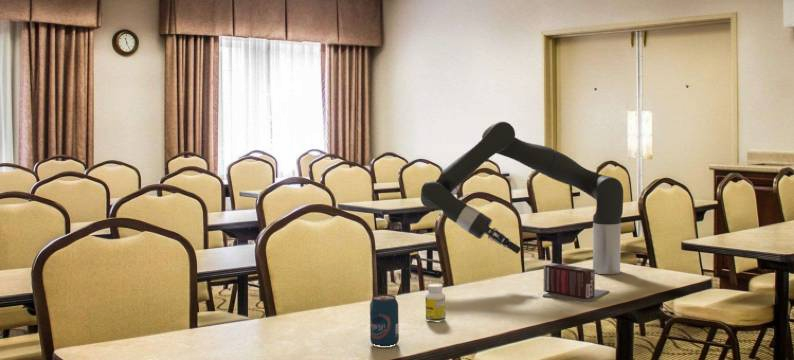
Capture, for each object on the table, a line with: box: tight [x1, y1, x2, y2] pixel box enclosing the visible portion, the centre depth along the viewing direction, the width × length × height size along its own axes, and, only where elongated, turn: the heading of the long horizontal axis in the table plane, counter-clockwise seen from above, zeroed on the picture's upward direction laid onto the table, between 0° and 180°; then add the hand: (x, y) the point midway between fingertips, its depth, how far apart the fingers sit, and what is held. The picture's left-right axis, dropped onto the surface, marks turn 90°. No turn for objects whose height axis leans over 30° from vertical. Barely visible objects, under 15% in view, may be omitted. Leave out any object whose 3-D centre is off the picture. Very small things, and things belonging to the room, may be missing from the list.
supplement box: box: [543, 262, 596, 299], centre depth 274 cm, size 9×5×16 cm
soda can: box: [369, 294, 400, 346], centre depth 221 cm, size 7×7×12 cm
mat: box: [542, 288, 610, 303], centre depth 276 cm, size 16×15×1 cm
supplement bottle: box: [425, 283, 447, 322], centre depth 245 cm, size 5×5×10 cm
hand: (519, 251), depth 286 cm, fingers closed
